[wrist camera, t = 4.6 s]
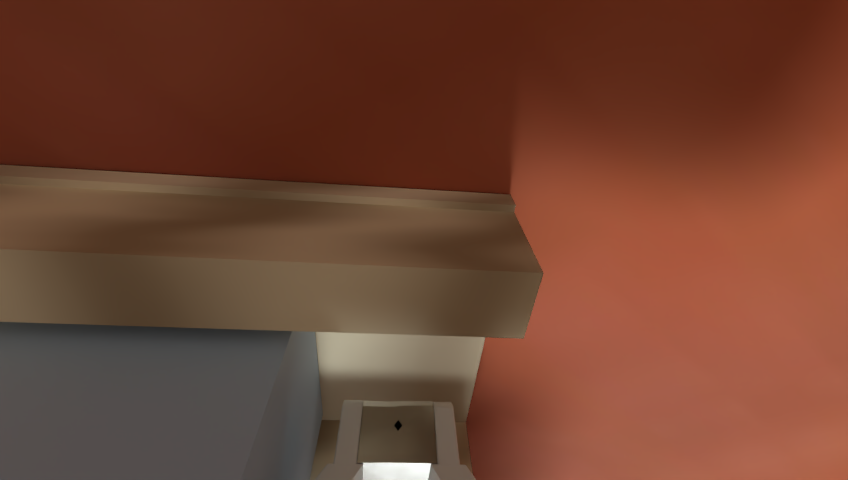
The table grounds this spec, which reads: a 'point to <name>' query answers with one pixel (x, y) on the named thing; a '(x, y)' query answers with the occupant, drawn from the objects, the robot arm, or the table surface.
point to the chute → (279, 272)
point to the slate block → (157, 403)
